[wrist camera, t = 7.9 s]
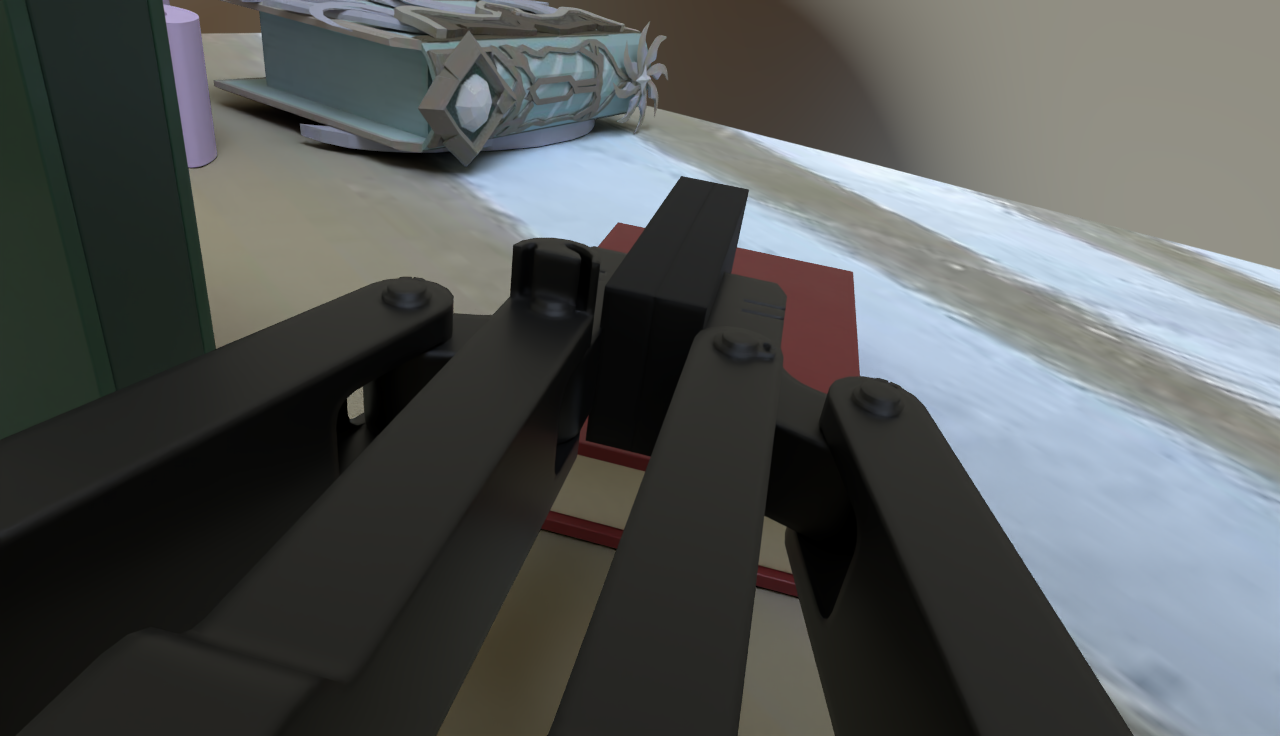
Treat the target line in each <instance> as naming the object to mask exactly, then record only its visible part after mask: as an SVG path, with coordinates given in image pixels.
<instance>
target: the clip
mask: <svg viewBox="0 0 1280 736" xmlns="http://www.w3.org/2000/svg"><path fill="white" fill-rule="evenodd" d="M163 6H164V12H165V19H166V25H167V32H168V39H169V45H170V52H171V58H172V65H173V71H174V78H175V84H176V91H177V97H178V104H179V111H180V117H181V124H182V130H183V137H184V143H185V150H186V156H187V163H188V167H200V166H203V165H206V164H208V163H210V162H211V161H213V160H214V159H215V158H216V156H217V149H216V142H215V134H214V127H213V119H212V112H211V104H210V97H209V89H208V82H207V74H206V67H205V60H204V52H203V45H202V37H201V30H200V22H199V16H198V15H197V14H196V13H194V12H191V11H188V10H185V9H182V8H178V7H173V6H170V4H169V0H163Z"/></svg>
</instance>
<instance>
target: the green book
mask: <svg viewBox="0 0 1280 736" xmlns="http://www.w3.org/2000/svg"><path fill="white" fill-rule="evenodd" d="M215 349H216V346H215V340H214V333H213V327H212V320H211V314H210V307H209V300H208V294H207V287H206V281H205V274H204V268H203V261H202V255H201V248H200V242H199V235H198V228H197V222H196V215H195V209H194V202H193V196H192V189H191V183H190V176H189V170H188V163H187V156H186V150H185V143H184V137H183V130H182V124H181V117H180V111H179V104H178V97H177V91H176V84H175V78H174V71H173V65H172V58H171V52H170V45H169V39H168V32H167V25H166V19H165V12H164V6H163V0H0V440H1V439H3V438H5V437H8V436H10V435H13V434H15V433H17V432H20V431H22V430H25V429H27V428H29V427H32V426H34V425H36V424H39V423H41V422H44V421H46V420H48V419H51V418H53V417H55V416H58V415H60V414H63V413H65V412H67V411H70V410H72V409H75V408H77V407H79V406H82V405H84V404H86V403H89V402H91V401H94V400H96V399H98V398H101V397H103V396H105V395H108V394H110V393H113V392H115V391H117V390H120V389H122V388H125V387H127V386H129V385H132V384H134V383H136V382H139V381H141V380H144V379H146V378H148V377H151V376H153V375H156V374H158V373H160V372H163V371H165V370H167V369H170V368H172V367H175V366H177V365H179V364H182V363H184V362H186V361H189V360H191V359H194V358H196V357H198V356H201V355H203V354H206V353H208V352H210V351H213V350H215Z"/></svg>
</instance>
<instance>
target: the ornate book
mask: <svg viewBox="0 0 1280 736" xmlns="http://www.w3.org/2000/svg"><path fill="white" fill-rule="evenodd" d="M221 1H225V2H228V3H232V4H236V5H240V6H243V7H247V8H251V9H254V10H258V11H259V13H260V23H261V33H262V43H263V53H264V63H265V73H266V77H264V78H246V79H228V80H214V86H216V87H218V88H220V89H223V90H225V91H228V92H231V93H234V94H237V95H240V96H243V97H246V98H249V99H252V100H255V101H257V102H260V103H263V104H266V105H269V106H272V107H275V108H278V109H281V110H284V111H287V112H289V113H292V114H295V115H298V116H301V117H304V118H307V119H310V120H313V121H316V122H319V123H321V124H324V125H327V126H318V125H307V124H300V130H301V135H302V136H305V137H308V138H311V139H314V140H317V141H320V142H324V143H328V144H333V145H337V146H342V147H347V148H354V149H363V150H373V151H387V152H403V153H436V152H451V153H452V154H453V155H454V156H455V157H456V158H457V159H458V160H459V161H460V162H461V163H462V164H463V165H464V166H465V167H467V166H468V165H469V163H470V162H471V161H472V160H473V159H474V158H475V157H476V156H477V155H478V153H479V152H480V151H492V150H505V149H517V148H528V147H539V146H544V145H549V144H553V143H558V142H563V141H567V140H572V139H575V138H578V137H580V136H583V135H585V134H588V133H589V132H590V131H591V130H592V129H593V127H594V125H595V119H599V118H604V117H609V116H614V115H620V114H625V113H626V114H625V116H624V117H622V118H621V119H619V120H618V121H616V122H621V123H624V122H626V121H628V120H629V118H630V117H631V115H632V114H633V112H634V111H635V108H636V107H637V106H638V105H639V106H638V107H639V109H640V119H639V123H638V125H637V128H636V130H635V132H636V131H637V130H638V129H639V128H640V126H641V124H642V122H643V120H644V116H645V110H646V94H647V93H646V91H647V89H648V97H649V98H652V99H653V100H654V108H655V110H654V117H655V113H656V110H657V106H658V93H657V89H656V86H655V85H654V83H653V82H652V81H651V80H650V79H651V78H650V75H652V76H653V78H654V79H656V80H657V79H658V78H659V77H660V75H661V74H662V73H663V74H664V75H665V77H666V78H667V80H668V76H667V69H666V67H665V65H663V64H659V63H658V64H655V65H653V66H652V67H651V62H653V61H654V60H655V59H656V55H657V49H658V47H659V45H660V43H661V42H662V41H663V40H665V39H666V36H662V35H660V36H658V37H657V38H656V39H655V40H654V42H653V43H652V45H651V47H650V48H649V51H648V49H647V44H646V42H645V39H646V33H647V29H648V26H649V23H650V22H649V23H648V24H647V25H646V27H645V28H644V29H643V31H642V33H641V32H640V31H638V30H635V29H631V28H626V27H624V26H625V24H622V23H619V22H615V21H613V20H610V19H607V18H604V17H601V16H598V15H596V14H593V13H590V12H587V11H584V10H581V9H577V8H570V7H559V9H555V8H552V7H548V6H544V5H549V3H546V2H539V1H530V0H529V1H528V0H221ZM635 132H634V134H635Z"/></svg>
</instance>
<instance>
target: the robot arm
mask: <svg viewBox="0 0 1280 736" xmlns="http://www.w3.org/2000/svg"><path fill="white" fill-rule="evenodd" d="M748 192H749V190H748V189H743V188H738V187H733V186H728V185H723V184H718V183H713V182H708V181H703V180H698V179H693V178H688V177H683V176H681V177H680V179H679V180H678V182H677V183H676V185H675V186H674V187H673V189H672V190H671V192H670V193H669V195H668V196H667V198H666V199H665V200H664V202H663V203H662V205H661V206H660V208H659V209H658V210H657V212H656V213H655V215H654V216H653V218H652V219H651V220H650V222H649V223H648V225H647V226H646V228H645V229H644V231H643V232H642V233H641V235H640V236H639V238H638V239H637V241H636V242H635V243H634V245H633V246H632V248H631V249H630V251H629V252H628V253H623V252H618V251H614V250H609V249H604V248H600V247H595V246H593V247H588V246H586V245H584V244H581V243H578V242H574V241H571V240H565V239H558V238H533V239H528V240H522V241H520V242H519V243H517V244H515V245H513V259H512V275H511V292H510V297H509V298H508V299H507V300H506V301H505V302H504V304H503V305H502V306H501V307H500V308H499V309H498V310H497V311H496V312H495V313H494V314H493V315H471V314H456V313H453V298H454V296H453V295H452V294H451V292H450V291H449V290H448V289H447V288H445V287H443V286H441V285H439V284H437V283H434V282H430V281H426V280H425V279H423V278H416V277H414V278H413V279H412V277H400V278H398V279H387V280H383V281H380V282H376V283H372V284H370V285H367V286H365V287H363V288H360V289H358V290H356V291H353V292H351V293H348V294H346V295H344V296H341V297H339V298H337V299H334V300H332V301H329V302H327V303H325V304H322V305H320V306H317V307H315V308H313V309H310V310H308V311H306V312H303V313H301V314H298V315H296V316H294V317H291V318H289V319H287V320H284V321H282V322H279V323H277V324H275V325H272V326H270V327H267V328H265V329H263V330H260V331H258V332H256V333H253V334H251V335H248V336H246V337H244V338H241V339H239V340H236V341H234V342H232V343H229V344H227V345H225V346H222V347H220V348H217V349H215V350H213V351H210V352H208V353H206V354H203V355H201V356H198V357H196V358H194V359H191V360H189V361H186V362H184V363H182V364H179V365H177V366H175V367H172V368H170V369H167V370H165V371H163V372H160V373H158V374H156V375H153V376H151V377H148V378H146V379H144V380H141V381H139V382H136V383H134V384H132V385H129V386H127V387H125V388H122V389H120V390H117V391H115V392H113V393H110V394H108V395H105V396H103V397H101V398H98V399H96V400H94V401H91V402H89V403H86V404H84V405H82V406H79V407H77V408H75V409H72V410H70V411H67V412H65V413H63V414H60V415H58V416H55V417H53V418H51V419H48V420H46V421H44V422H41V423H39V424H36V425H34V426H32V427H29V428H27V429H25V430H22V431H20V432H17V433H15V434H13V435H10V436H8V437H5V438H3V439H1V440H0V736H436V735H437V733H438V731H439V729H440V727H441V725H442V723H443V721H444V719H445V717H446V715H447V713H448V711H449V709H450V707H451V705H452V703H453V701H454V699H455V697H456V695H457V693H458V691H459V689H460V687H461V685H462V683H463V681H464V679H465V677H466V676H467V674H468V672H469V670H470V668H471V666H472V664H473V662H474V660H475V658H476V656H477V654H478V652H479V650H480V648H481V646H482V644H483V642H484V640H485V638H486V636H487V634H488V632H489V630H490V628H491V626H492V624H493V622H494V620H495V618H496V616H497V614H498V612H499V610H500V608H501V606H502V604H503V602H504V600H505V598H506V596H507V594H508V592H509V591H510V589H511V587H512V585H513V583H514V581H515V579H516V577H517V575H518V573H519V571H520V569H521V567H522V565H523V563H524V561H525V559H526V557H527V555H528V553H529V551H530V549H531V547H532V545H533V543H534V541H535V539H536V537H537V535H538V533H539V531H540V529H541V527H542V525H543V523H544V521H545V519H546V517H547V515H548V513H549V511H550V509H551V507H552V506H553V504H554V502H555V500H556V498H557V496H558V494H559V492H560V490H561V488H562V486H563V484H564V482H565V480H566V478H567V476H568V474H569V472H570V470H571V468H572V466H573V464H574V462H575V460H576V458H577V453H578V446H579V438H580V430H581V428H582V426H583V425H584V423H585V421H586V419H587V417H588V424H587V432H586V440H585V441H589V442H593V443H597V444H601V445H606V446H610V447H614V448H618V449H622V450H626V451H630V452H634V453H638V454H642V455H646V456H650V460H649V463H648V465H647V468H646V471H645V474H644V476H643V479H642V482H641V484H640V487H639V490H638V493H637V495H636V498H635V501H634V504H633V506H632V509H631V512H630V514H629V517H628V520H627V523H626V525H625V528H624V531H623V533H622V536H621V539H620V542H619V544H618V547H617V550H616V552H615V555H614V558H613V561H612V563H611V566H610V569H609V572H608V574H607V577H606V580H605V582H604V585H603V588H602V591H601V593H600V596H599V599H598V601H597V604H596V607H595V610H594V612H593V615H592V618H591V620H590V623H589V626H588V629H587V631H586V634H585V637H584V640H583V642H582V645H581V648H580V650H579V653H578V656H577V659H576V661H575V664H574V667H573V669H572V672H571V675H570V678H569V680H568V683H567V686H566V689H565V691H564V694H563V697H562V699H561V702H560V705H559V708H558V710H557V713H556V716H555V718H554V721H553V723H552V726H551V728H550V731H549V733H548V735H547V736H738V728H739V719H740V711H741V703H742V695H743V687H744V678H745V670H746V662H747V654H748V646H749V638H750V629H751V621H752V613H753V605H754V597H755V588H756V580H757V572H758V564H759V556H760V548H761V539H762V531H763V523H764V516H766V517H768V518H770V519H772V520H774V521H776V522H778V523H780V524H782V525H784V526H786V531H785V547H786V551H787V555H788V559H789V563H790V566H791V570H792V574H793V578H794V582H795V585H796V589H797V593H798V597H799V601H800V604H801V608H802V612H803V616H804V620H805V623H806V627H807V631H808V635H809V639H810V642H811V646H812V650H813V654H814V658H815V661H816V665H817V669H818V673H819V677H820V680H821V684H822V688H823V692H824V695H825V699H826V703H827V707H828V711H829V714H830V718H831V722H832V726H833V730H834V733H835V736H1134V735H1133V734H1132V732H1131V731H1130V729H1129V728H1128V726H1127V724H1126V723H1125V721H1124V720H1123V718H1122V717H1121V715H1120V713H1119V712H1118V710H1117V709H1116V707H1115V706H1114V704H1113V702H1112V701H1111V699H1110V698H1109V696H1108V694H1107V693H1106V691H1105V690H1104V688H1103V687H1102V685H1101V683H1100V682H1099V680H1098V679H1097V677H1096V676H1095V674H1094V672H1093V671H1092V669H1091V668H1090V666H1089V665H1088V663H1087V661H1086V660H1085V658H1084V657H1083V655H1082V653H1081V652H1080V650H1079V649H1078V647H1077V646H1076V644H1075V642H1074V641H1073V639H1072V638H1071V636H1070V635H1069V633H1068V631H1067V630H1066V628H1065V627H1064V625H1063V624H1062V622H1061V620H1060V619H1059V617H1058V616H1057V614H1056V612H1055V611H1054V609H1053V608H1052V606H1051V605H1050V603H1049V601H1048V600H1047V598H1046V597H1045V595H1044V594H1043V592H1042V590H1041V589H1040V587H1039V586H1038V584H1037V583H1036V581H1035V579H1034V578H1033V576H1032V575H1031V573H1030V571H1029V570H1028V568H1027V567H1026V565H1025V564H1024V562H1023V560H1022V559H1021V557H1020V556H1019V554H1018V553H1017V551H1016V549H1015V548H1014V546H1013V545H1012V543H1011V541H1010V540H1009V538H1008V537H1007V535H1006V534H1005V532H1004V530H1003V529H1002V527H1001V526H1000V524H999V523H998V521H997V519H996V518H995V516H994V515H993V513H992V512H991V510H990V508H989V507H988V505H987V504H986V502H985V500H984V499H983V497H982V496H981V494H980V493H979V491H978V489H977V488H976V486H975V485H974V483H973V482H972V480H971V478H970V477H969V475H968V474H967V472H966V471H965V469H964V467H963V466H962V464H961V463H960V461H959V459H958V458H957V456H956V455H955V453H954V452H953V450H952V448H951V447H950V445H949V444H948V442H947V441H946V439H945V437H944V436H943V434H942V433H941V431H940V430H939V428H938V426H937V425H936V423H935V422H934V420H933V418H932V417H931V415H930V414H929V412H928V411H927V409H926V407H925V406H924V405H923V404H922V403H921V402H920V401H919V400H918V399H917V398H916V397H915V396H914V395H912V394H911V393H909V392H907V391H906V390H904V389H903V388H901V386H899V385H897V384H895V383H892V382H890V383H888V381H887V380H884V379H880V378H875V379H874V378H869V377H862V376H848V377H844V378H841V379H837V380H835V381H834V382H833V383H832V385H831V386H830V387H829V390H828V393H827V394H826V393H823V392H821V391H818V390H816V389H813V388H811V387H809V386H807V385H805V384H803V383H801V382H800V381H798V380H797V379H795V378H794V377H792V376H791V375H790V374H789V373H788V372H787V371H786V370H785V369H784V367H783V360H784V356H783V353H782V349H781V341H782V333H783V325H784V317H785V309H786V302H787V295H786V294H785V293H784V291H783V290H782V289H781V287H780V286H779V285H778V283H774V282H769V281H765V280H760V279H755V278H750V277H746V276H741V275H736V274H732V273H731V272H732V267H733V262H734V258H735V253H736V248H737V244H738V239H739V234H740V230H741V225H742V220H743V215H744V211H745V206H746V201H747V197H748ZM361 387H363V397H364V413H362V414H361V415H359V416H357V417H356V418H353V419H349V416H348V411H347V398H348V397H349V396H350V395H351V394H352V393H353V392H354V391H356V390H357V389H359V388H361ZM588 415H589V416H588Z"/></svg>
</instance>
